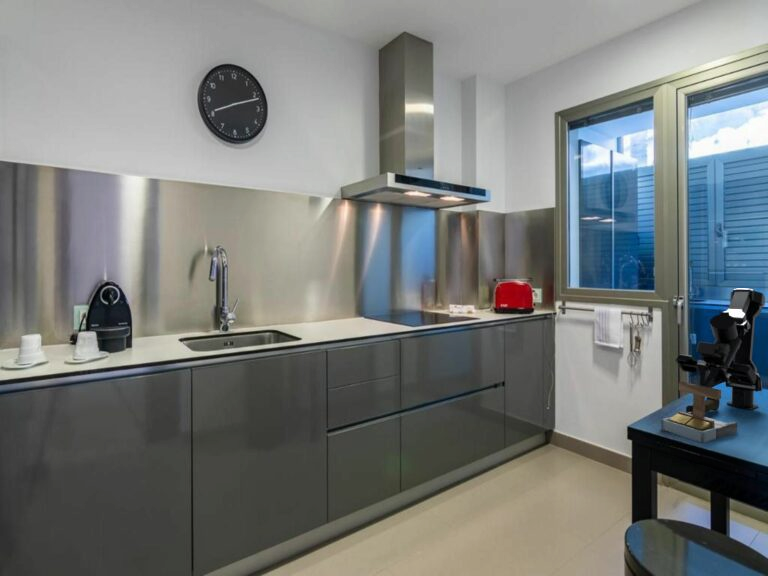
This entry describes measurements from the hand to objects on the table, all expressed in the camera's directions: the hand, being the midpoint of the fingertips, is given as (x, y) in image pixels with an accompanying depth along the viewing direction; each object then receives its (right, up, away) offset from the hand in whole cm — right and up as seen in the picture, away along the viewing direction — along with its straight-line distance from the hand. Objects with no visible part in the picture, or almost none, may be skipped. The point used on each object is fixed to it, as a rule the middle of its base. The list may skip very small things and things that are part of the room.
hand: (701, 390), depth 121 cm
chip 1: (-6, -11, 0) cm, 12 cm away
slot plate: (+2, -12, +1) cm, 12 cm away
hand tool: (+11, -10, +14) cm, 20 cm away
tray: (-6, -12, -2) cm, 13 cm away
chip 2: (-4, -11, -4) cm, 12 cm away
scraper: (-2, -9, 0) cm, 10 cm away
